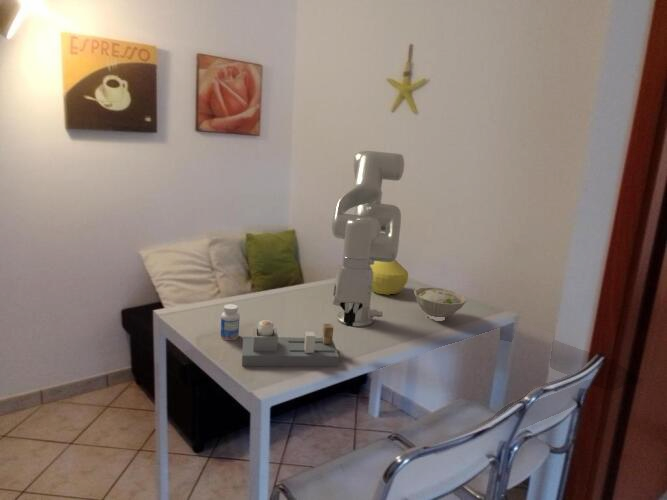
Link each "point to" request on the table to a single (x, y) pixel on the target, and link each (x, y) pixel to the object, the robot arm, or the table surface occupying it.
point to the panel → (286, 351)
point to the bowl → (439, 301)
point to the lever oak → (327, 333)
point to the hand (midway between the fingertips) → (348, 324)
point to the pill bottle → (230, 322)
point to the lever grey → (309, 342)
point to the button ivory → (265, 328)
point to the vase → (388, 277)
